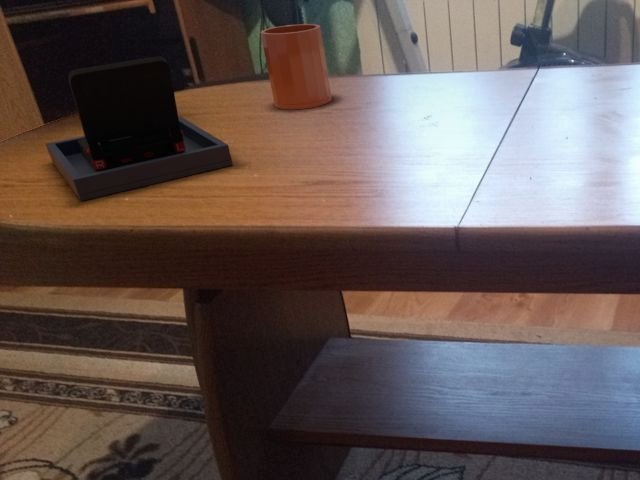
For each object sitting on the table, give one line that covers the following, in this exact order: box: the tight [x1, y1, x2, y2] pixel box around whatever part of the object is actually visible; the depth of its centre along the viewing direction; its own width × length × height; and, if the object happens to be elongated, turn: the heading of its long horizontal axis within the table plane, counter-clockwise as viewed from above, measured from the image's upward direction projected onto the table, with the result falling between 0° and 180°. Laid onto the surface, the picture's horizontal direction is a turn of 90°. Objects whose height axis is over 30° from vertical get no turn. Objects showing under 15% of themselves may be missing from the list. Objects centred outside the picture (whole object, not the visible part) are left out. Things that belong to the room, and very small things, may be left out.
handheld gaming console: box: [67, 56, 186, 170], centre depth 75 cm, size 9×12×10 cm
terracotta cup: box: [260, 23, 333, 110], centre depth 94 cm, size 7×7×9 cm
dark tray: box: [45, 116, 233, 202], centre depth 77 cm, size 17×15×2 cm
